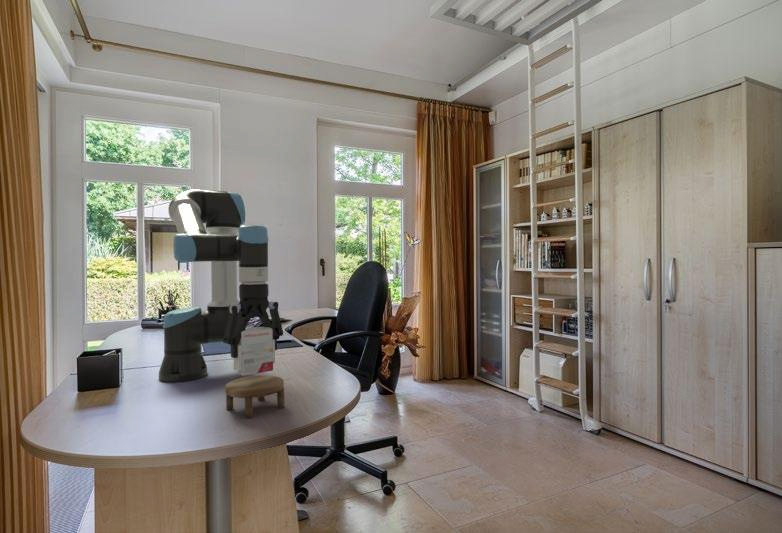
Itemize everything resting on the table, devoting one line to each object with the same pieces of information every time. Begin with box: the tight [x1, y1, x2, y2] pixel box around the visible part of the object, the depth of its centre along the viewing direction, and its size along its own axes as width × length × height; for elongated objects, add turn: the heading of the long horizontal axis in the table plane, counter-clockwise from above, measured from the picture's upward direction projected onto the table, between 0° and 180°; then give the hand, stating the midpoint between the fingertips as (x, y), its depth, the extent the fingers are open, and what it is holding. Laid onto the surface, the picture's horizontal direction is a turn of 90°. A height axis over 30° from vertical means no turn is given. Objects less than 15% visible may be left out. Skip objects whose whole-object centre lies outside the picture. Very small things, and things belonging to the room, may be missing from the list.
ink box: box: [236, 326, 274, 377], centre depth 116 cm, size 9×5×12 cm, turn 124°
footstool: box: [225, 375, 285, 419], centre depth 116 cm, size 15×15×7 cm
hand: (255, 366), depth 116 cm, fingers closed on ink box, 9 cm apart
